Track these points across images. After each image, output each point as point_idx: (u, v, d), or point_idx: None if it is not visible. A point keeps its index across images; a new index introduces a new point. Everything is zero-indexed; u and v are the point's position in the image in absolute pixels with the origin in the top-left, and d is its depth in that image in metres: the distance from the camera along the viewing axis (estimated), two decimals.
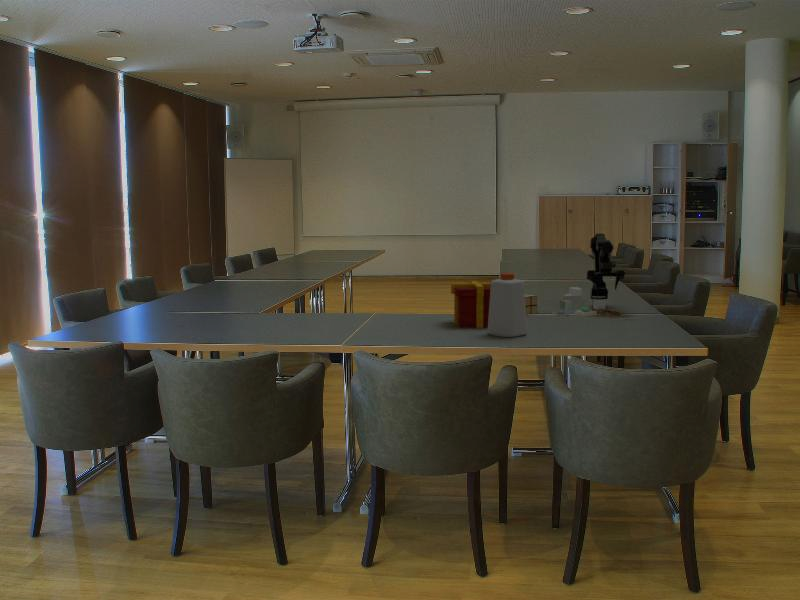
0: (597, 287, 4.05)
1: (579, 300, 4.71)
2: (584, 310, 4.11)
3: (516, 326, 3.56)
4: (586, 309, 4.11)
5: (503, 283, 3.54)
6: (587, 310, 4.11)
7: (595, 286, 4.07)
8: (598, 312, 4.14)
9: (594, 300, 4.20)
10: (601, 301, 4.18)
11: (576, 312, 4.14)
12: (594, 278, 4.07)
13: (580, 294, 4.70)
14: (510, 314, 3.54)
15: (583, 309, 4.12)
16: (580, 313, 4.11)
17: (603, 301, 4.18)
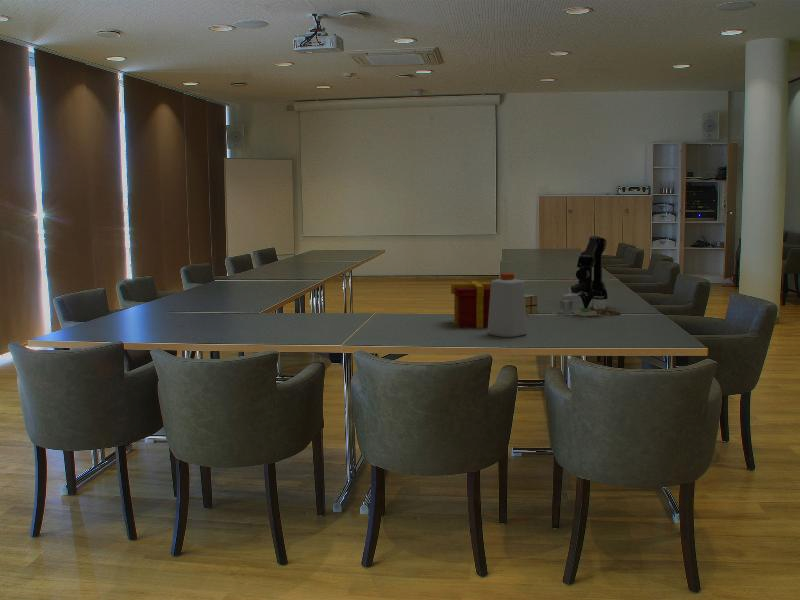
0: (584, 306, 4.13)
1: (579, 300, 4.71)
2: (584, 311, 4.11)
3: (516, 326, 3.56)
4: (586, 310, 4.11)
5: (503, 283, 3.54)
6: (587, 311, 4.11)
7: None
8: (598, 312, 4.14)
9: (594, 300, 4.20)
10: (601, 301, 4.18)
11: (576, 312, 4.14)
12: (581, 297, 4.13)
13: None
14: (510, 314, 3.54)
15: (583, 310, 4.12)
16: (580, 313, 4.11)
17: (603, 301, 4.18)
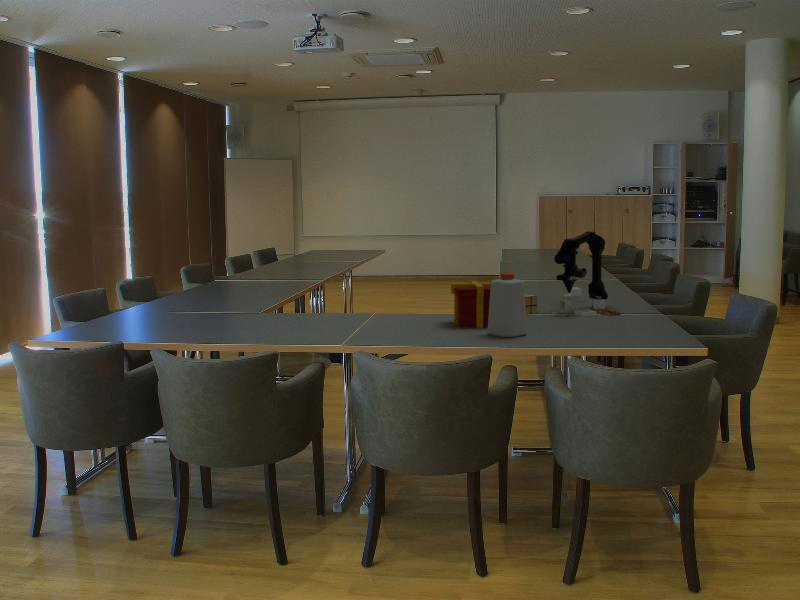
0: (570, 291, 4.16)
1: (579, 300, 4.70)
2: None
3: (516, 326, 3.56)
4: None
5: (503, 283, 3.54)
6: None
7: (568, 289, 4.16)
8: (598, 312, 4.14)
9: (594, 300, 4.20)
10: (601, 301, 4.18)
11: (576, 312, 4.14)
12: (571, 282, 4.14)
13: (580, 294, 4.70)
14: (510, 314, 3.54)
15: None
16: (580, 313, 4.11)
17: (603, 301, 4.18)
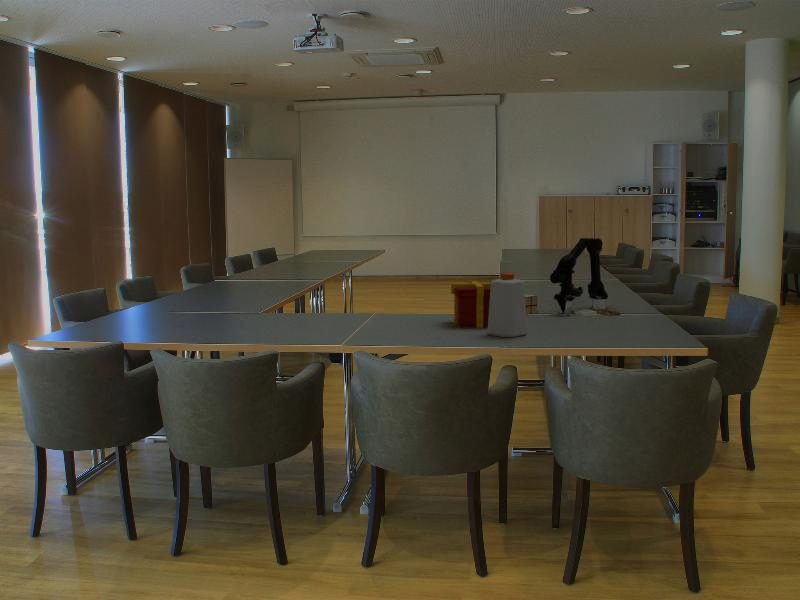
0: (564, 310, 4.16)
1: (579, 300, 4.70)
2: None
3: (516, 326, 3.56)
4: None
5: (503, 283, 3.54)
6: None
7: (562, 308, 4.16)
8: (598, 312, 4.14)
9: (594, 300, 4.20)
10: (601, 301, 4.18)
11: (576, 312, 4.14)
12: (565, 302, 4.14)
13: None
14: (510, 314, 3.54)
15: None
16: (580, 313, 4.11)
17: (603, 301, 4.18)
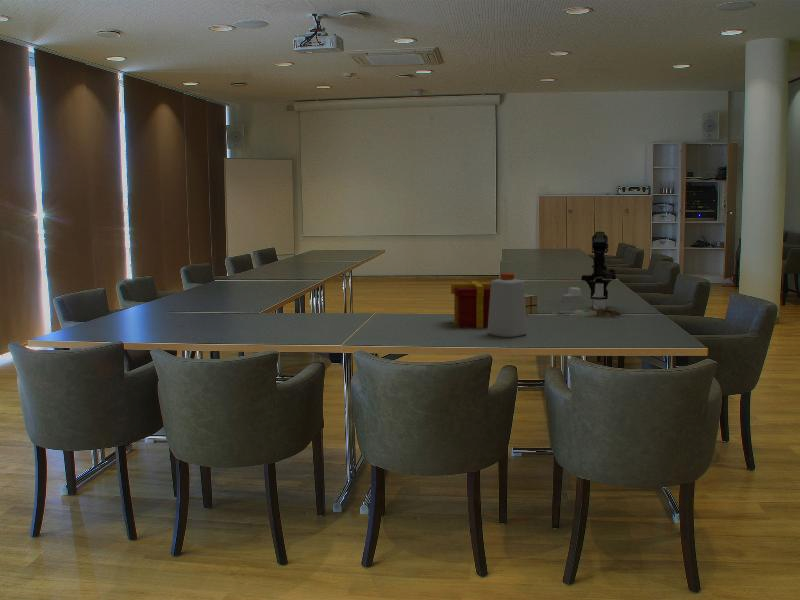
0: (594, 292, 4.11)
1: (578, 300, 4.70)
2: None
3: (516, 326, 3.56)
4: None
5: (503, 283, 3.54)
6: None
7: (592, 290, 4.11)
8: (598, 312, 4.14)
9: (594, 300, 4.20)
10: (601, 301, 4.18)
11: (576, 312, 4.14)
12: (594, 284, 4.08)
13: (579, 294, 4.70)
14: (510, 314, 3.54)
15: None
16: (580, 313, 4.11)
17: (603, 301, 4.18)
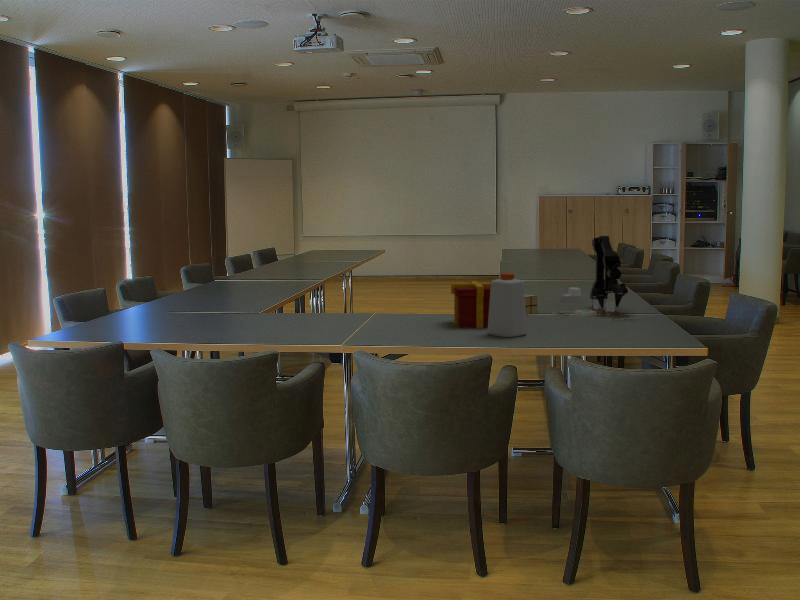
0: None
1: (578, 300, 4.70)
2: None
3: (516, 326, 3.56)
4: None
5: (503, 283, 3.54)
6: None
7: (601, 304, 4.10)
8: (598, 312, 4.14)
9: (594, 300, 4.20)
10: None
11: (576, 312, 4.14)
12: (602, 298, 4.07)
13: (579, 294, 4.70)
14: (510, 314, 3.54)
15: None
16: (580, 313, 4.11)
17: None
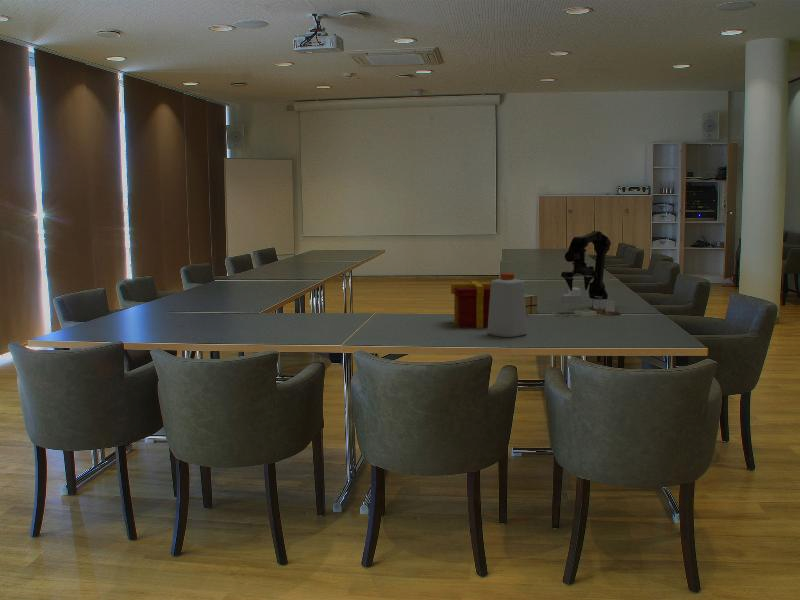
0: None
1: (578, 300, 4.70)
2: None
3: (516, 326, 3.56)
4: None
5: (503, 283, 3.54)
6: None
7: (569, 287, 4.17)
8: (598, 312, 4.14)
9: (594, 300, 4.20)
10: (601, 301, 4.18)
11: (576, 312, 4.14)
12: (571, 280, 4.15)
13: (579, 294, 4.69)
14: (510, 314, 3.54)
15: None
16: (580, 313, 4.11)
17: (603, 301, 4.18)
